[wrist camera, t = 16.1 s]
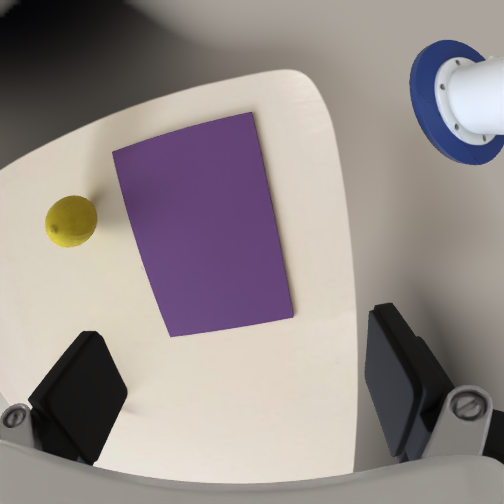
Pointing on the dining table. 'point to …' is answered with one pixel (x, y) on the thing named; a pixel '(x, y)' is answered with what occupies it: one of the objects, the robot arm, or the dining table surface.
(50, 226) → the lemon
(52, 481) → the robot arm
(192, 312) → the cloth
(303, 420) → the dining table surface
